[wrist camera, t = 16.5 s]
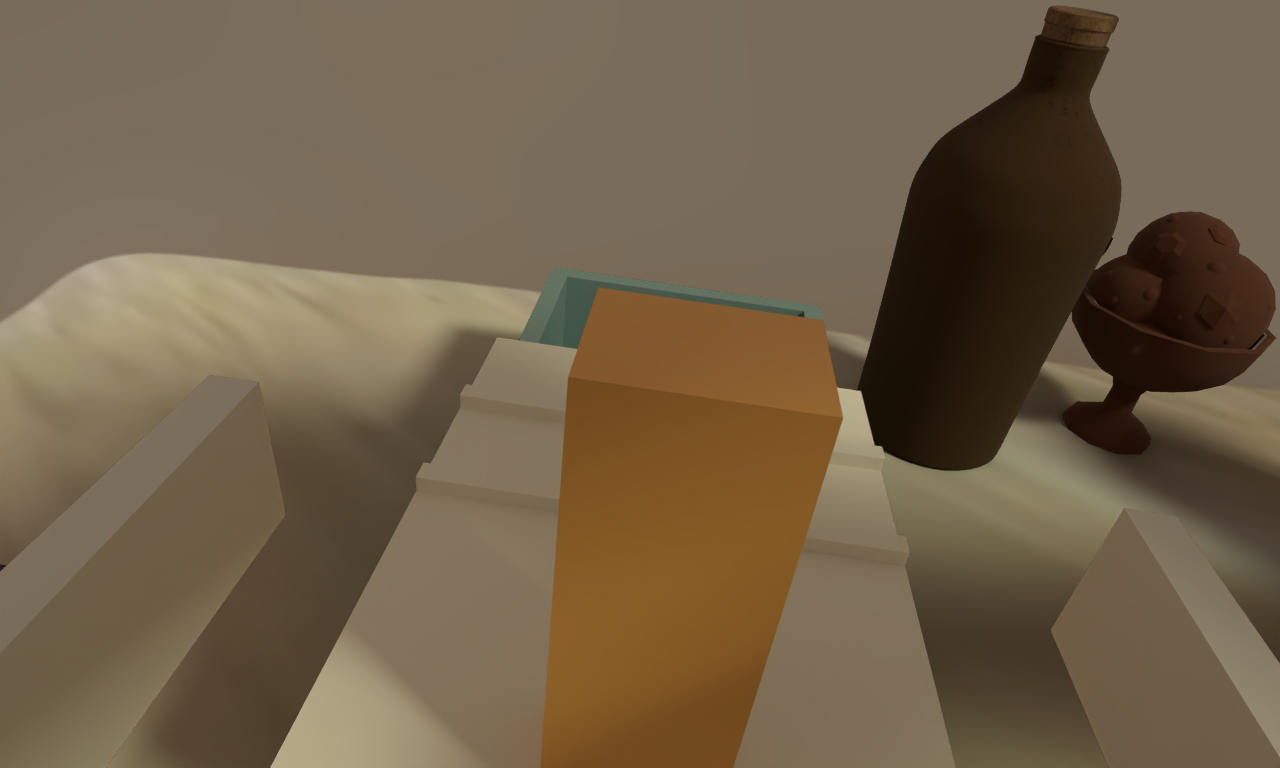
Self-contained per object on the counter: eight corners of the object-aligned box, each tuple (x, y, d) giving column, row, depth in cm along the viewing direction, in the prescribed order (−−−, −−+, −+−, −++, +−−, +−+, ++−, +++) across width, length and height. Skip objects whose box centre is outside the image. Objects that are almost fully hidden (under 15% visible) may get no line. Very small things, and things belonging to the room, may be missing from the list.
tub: (790, 414, 50) (819, 306, 46) (818, 677, 34) (868, 545, 29) (547, 378, 51) (553, 267, 46) (455, 620, 34) (451, 481, 30)
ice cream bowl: (995, 417, 53) (1089, 207, 45) (1062, 370, 60) (1154, 180, 51) (1159, 504, 47) (1303, 279, 38) (1213, 440, 53) (1345, 238, 45)
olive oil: (890, 484, 45) (1065, 21, 32) (817, 384, 54) (930, -15, 40) (1043, 473, 48) (1264, 41, 34) (950, 379, 56) (1098, 2, 43)
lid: (851, 419, 36) (948, 119, 28) (962, 919, 18) (1287, 484, 11) (496, 366, 36) (500, 57, 29) (279, 806, 19) (144, 313, 11)
